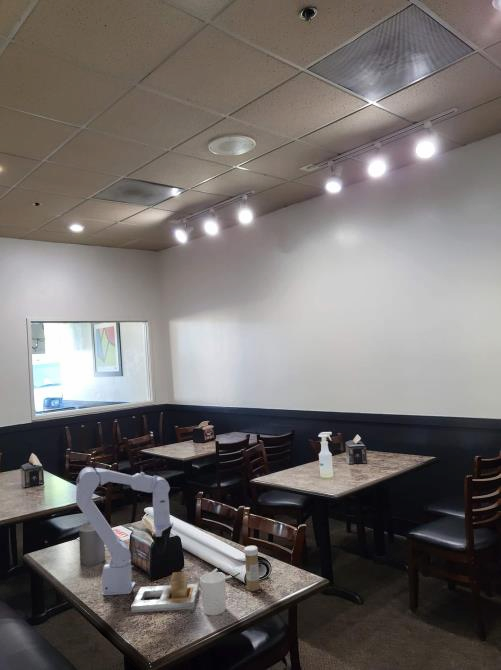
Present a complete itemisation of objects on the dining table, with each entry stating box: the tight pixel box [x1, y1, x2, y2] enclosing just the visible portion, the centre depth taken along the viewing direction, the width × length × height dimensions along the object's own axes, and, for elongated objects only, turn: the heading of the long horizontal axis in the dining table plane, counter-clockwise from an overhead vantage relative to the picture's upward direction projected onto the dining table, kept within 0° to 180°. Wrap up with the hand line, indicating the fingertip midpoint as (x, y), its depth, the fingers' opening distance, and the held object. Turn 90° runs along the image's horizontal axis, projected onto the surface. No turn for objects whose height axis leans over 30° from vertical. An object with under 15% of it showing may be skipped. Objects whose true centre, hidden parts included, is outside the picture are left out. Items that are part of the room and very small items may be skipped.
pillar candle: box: [78, 523, 106, 567], centre depth 197 cm, size 10×10×15 cm
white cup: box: [199, 571, 227, 616], centre depth 152 cm, size 8×8×10 cm
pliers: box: [198, 567, 233, 587], centre depth 174 cm, size 10×2×15 cm
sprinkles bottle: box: [243, 545, 261, 592], centre depth 165 cm, size 5×5×13 cm
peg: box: [170, 571, 189, 598], centre depth 160 cm, size 4×4×8 cm
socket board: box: [130, 583, 199, 614], centre depth 159 cm, size 20×13×2 cm, turn 89°
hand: (163, 549), depth 176 cm, fingers open, 7 cm apart
